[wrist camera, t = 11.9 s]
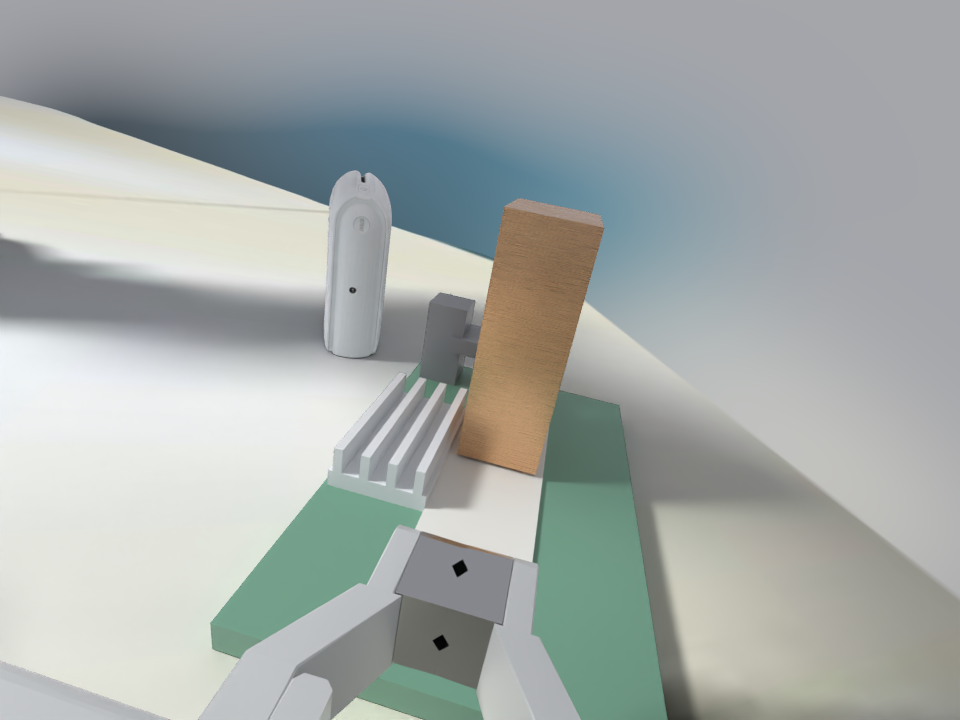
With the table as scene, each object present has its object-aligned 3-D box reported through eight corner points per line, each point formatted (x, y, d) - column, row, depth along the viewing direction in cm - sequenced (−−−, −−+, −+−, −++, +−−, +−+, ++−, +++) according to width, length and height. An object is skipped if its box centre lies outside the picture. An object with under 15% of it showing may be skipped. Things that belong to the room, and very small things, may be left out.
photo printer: (381, 361, 36) (400, 186, 30) (320, 358, 34) (328, 175, 29) (375, 312, 44) (388, 170, 39) (326, 308, 43) (333, 161, 38)
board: (661, 798, 14) (753, 651, 11) (212, 648, 15) (200, 487, 13) (614, 420, 34) (642, 335, 31) (422, 371, 35) (434, 287, 32)
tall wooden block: (535, 474, 24) (604, 227, 19) (456, 453, 24) (504, 206, 19) (548, 387, 33) (596, 206, 28) (491, 373, 33) (529, 192, 28)
